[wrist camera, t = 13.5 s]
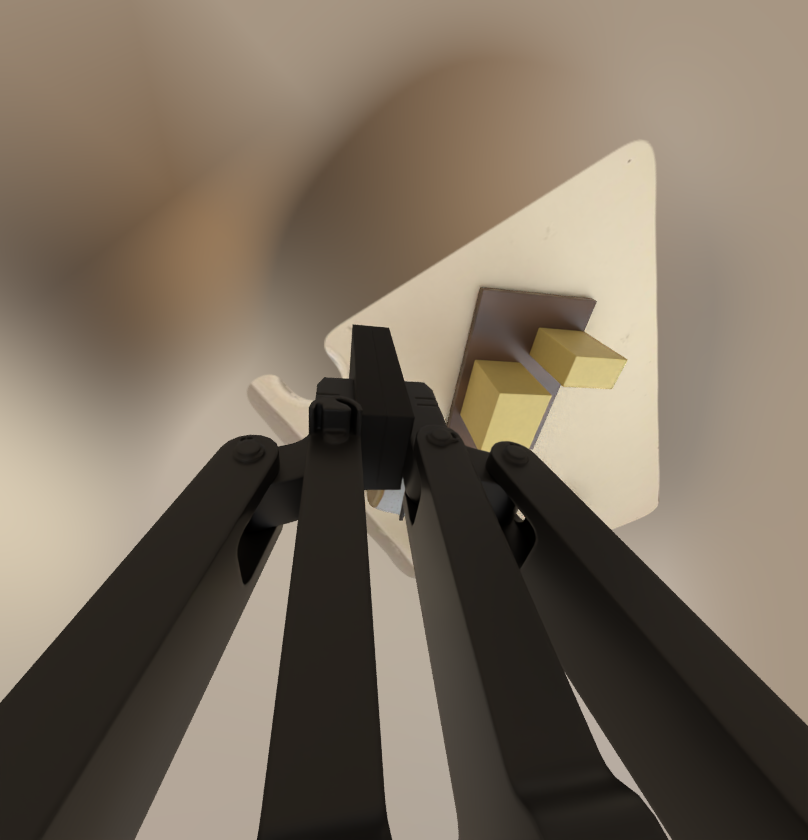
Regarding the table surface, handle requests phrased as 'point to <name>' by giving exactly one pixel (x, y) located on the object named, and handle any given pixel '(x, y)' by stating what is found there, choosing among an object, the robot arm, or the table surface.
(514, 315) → the butter board
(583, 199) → the table surface
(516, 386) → the butter block
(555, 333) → the block
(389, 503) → the ceramic mug
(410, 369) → the table surface
